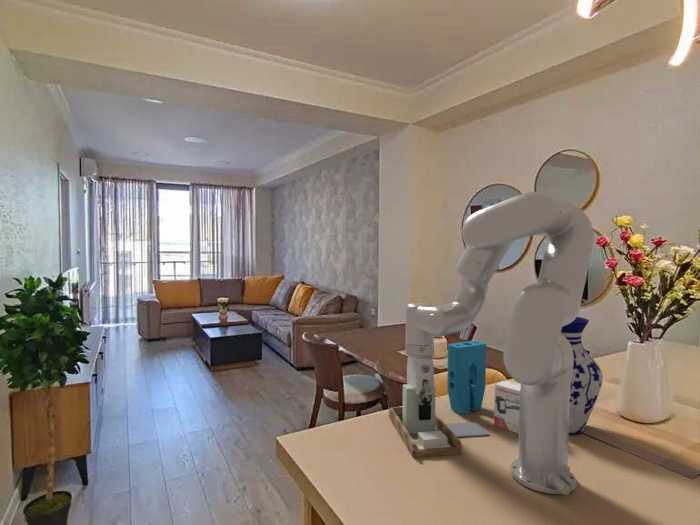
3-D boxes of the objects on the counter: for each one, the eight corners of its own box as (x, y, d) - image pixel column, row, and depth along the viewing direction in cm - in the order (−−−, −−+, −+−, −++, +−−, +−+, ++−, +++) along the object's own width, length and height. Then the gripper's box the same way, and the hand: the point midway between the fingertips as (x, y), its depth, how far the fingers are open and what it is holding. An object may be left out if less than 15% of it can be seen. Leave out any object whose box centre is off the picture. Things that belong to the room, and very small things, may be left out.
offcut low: (451, 455, 98) (451, 447, 98) (419, 457, 97) (419, 449, 97) (443, 445, 103) (443, 437, 103) (413, 447, 102) (413, 439, 102)
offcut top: (447, 446, 99) (447, 437, 99) (423, 448, 98) (423, 439, 97) (440, 438, 103) (440, 430, 103) (417, 440, 101) (417, 432, 101)
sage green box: (434, 431, 109) (435, 387, 109) (405, 433, 108) (406, 388, 108) (430, 426, 113) (431, 383, 112) (402, 428, 112) (402, 384, 111)
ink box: (493, 425, 114) (493, 383, 113) (501, 420, 117) (502, 379, 117) (523, 435, 108) (524, 391, 107) (531, 430, 111) (532, 386, 111)
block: (474, 402, 130) (475, 340, 130) (486, 408, 126) (487, 343, 125) (445, 409, 124) (446, 344, 124) (457, 415, 120) (458, 348, 119)
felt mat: (489, 435, 107) (489, 433, 107) (449, 438, 106) (449, 436, 106) (476, 423, 115) (476, 422, 115) (439, 425, 113) (439, 424, 113)
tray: (460, 454, 98) (460, 441, 97) (412, 457, 96) (413, 444, 96) (428, 415, 120) (428, 405, 120) (389, 417, 119) (389, 407, 118)
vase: (610, 447, 101) (613, 326, 100) (526, 435, 108) (529, 321, 107) (592, 417, 119) (594, 315, 118) (521, 409, 126) (523, 311, 125)
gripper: (445, 357, 102) (444, 425, 102) (422, 341, 119) (421, 399, 119) (415, 358, 101) (415, 426, 101) (397, 342, 118) (396, 401, 118)
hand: (418, 412), depth 110 cm, fingers open, 9 cm apart
